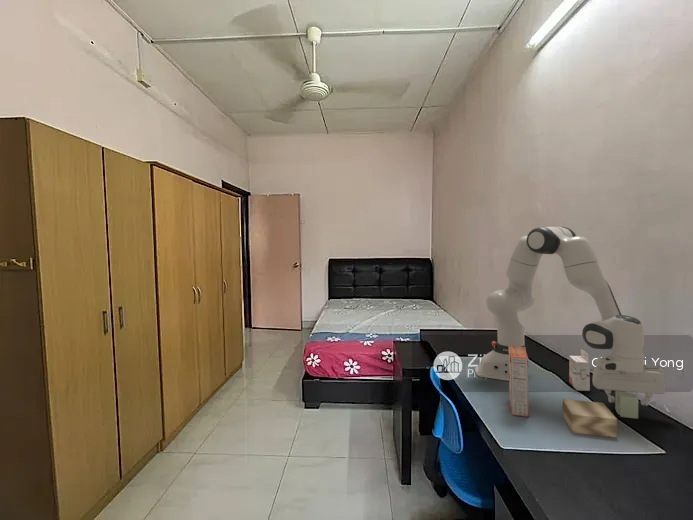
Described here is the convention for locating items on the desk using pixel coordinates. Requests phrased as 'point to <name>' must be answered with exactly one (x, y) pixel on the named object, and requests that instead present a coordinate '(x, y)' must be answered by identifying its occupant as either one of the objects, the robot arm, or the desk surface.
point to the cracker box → (518, 381)
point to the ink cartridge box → (579, 371)
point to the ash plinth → (589, 418)
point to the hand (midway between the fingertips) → (627, 403)
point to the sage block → (626, 404)
